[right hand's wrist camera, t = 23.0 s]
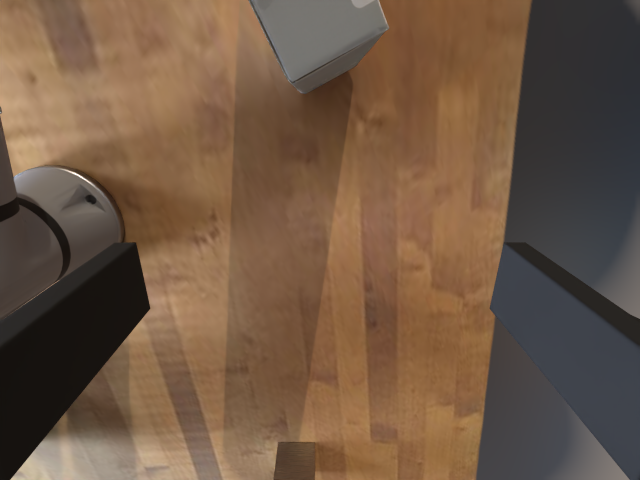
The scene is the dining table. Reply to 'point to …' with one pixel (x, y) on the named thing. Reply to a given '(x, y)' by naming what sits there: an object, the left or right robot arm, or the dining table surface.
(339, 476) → the dining table surface
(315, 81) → the hard drive box
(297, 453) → the block
